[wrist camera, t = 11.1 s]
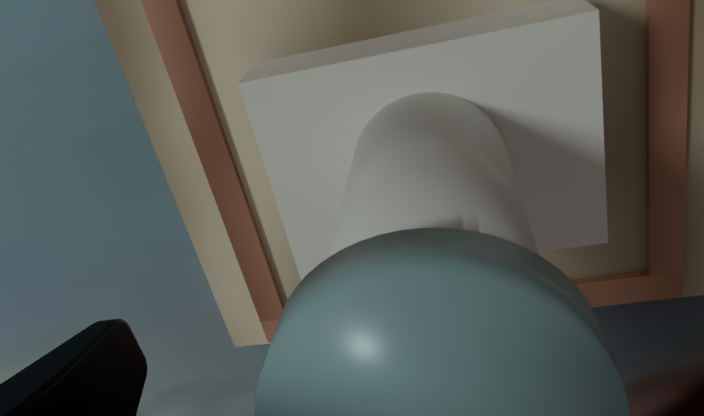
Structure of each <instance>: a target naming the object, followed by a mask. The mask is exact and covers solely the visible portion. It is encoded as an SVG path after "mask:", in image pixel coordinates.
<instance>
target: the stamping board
mask: <svg viewBox="0 0 704 416" xmlns="http://www.w3.org/2000/svg"><path fill="white" fill-rule="evenodd" d="M549 1H554V0H94V2H95V4H96V6H97V9H98V11H99V14H100V16H101V19H102V21H103V24H104V26H105V29H106V31H107V34H108V36H109V38H110V41H111V43H112V46H113V48H114V51H115V53H116V56H117V58H118V61H119V63H120V66H121V68H122V70H123V73H124V75H125V78H126V80H127V83H128V85H129V88H130V90H131V93H132V95H133V98H134V100H135V103H136V105H137V107H138V110H139V112H140V115H141V117H142V120H143V122H144V125H145V127H146V130H147V132H148V135H149V137H150V139H151V142H152V144H153V147H154V149H155V152H156V154H157V157H158V159H159V162H160V164H161V167H162V169H163V171H164V174H165V176H166V179H167V181H168V184H169V186H170V189H171V191H172V194H173V196H174V199H175V201H176V203H177V206H178V208H179V211H180V213H181V216H182V218H183V221H184V223H185V226H186V228H187V231H188V233H189V236H190V238H191V240H192V243H193V245H194V248H195V250H196V253H197V255H198V258H199V260H200V263H201V265H202V268H203V270H204V272H205V275H206V277H207V280H208V282H209V285H210V287H211V290H212V292H213V295H214V297H215V300H216V302H217V304H218V307H219V309H220V312H221V314H222V317H223V319H224V322H225V324H226V327H227V329H228V332H229V334H230V336H231V339H232V341H233V344H234V346H235V347H241V346H250V345H259V344H268V343H271V341H272V338H273V335H274V332H275V329H276V326H277V323H278V320H279V317H280V315H281V312H282V310H283V308H284V305H285V303H286V302H287V300H288V298H289V297H290V295H291V294H292V292H293V290H294V289H295V288H296V287H297V285H298V284H299V283H300V282H301V279H300V276H299V273H298V270H297V266H296V263H295V260H294V257H293V254H292V251H291V248H290V245H289V241H288V238H287V235H286V232H285V229H284V226H283V223H282V220H281V217H280V213H279V210H278V207H277V204H276V201H275V198H274V195H273V192H272V189H271V185H270V182H269V179H268V176H267V173H266V170H265V167H264V164H263V160H262V157H261V154H260V151H259V148H258V145H257V142H256V139H255V136H254V132H253V129H252V126H251V123H250V120H249V117H248V114H247V111H246V108H245V104H244V101H243V98H242V95H241V92H240V89H239V86H238V83H239V82H240V81H241V79H242V78H243V77H244V76H245V75H246V74H247V73H248V72H249V71H250V70H251V68H252V67H253V66H254V65H255V64H256V63H258V62H262V61H267V60H272V59H277V58H282V57H286V56H291V55H296V54H301V53H305V52H310V51H315V50H320V49H325V48H329V47H334V46H339V45H344V44H348V43H353V42H358V41H363V40H368V39H372V38H377V37H382V36H387V35H392V34H396V33H401V32H406V31H411V30H415V29H420V28H425V27H430V26H435V25H439V24H444V23H449V22H454V21H459V20H463V19H468V18H473V17H478V16H482V15H487V14H492V13H497V12H502V11H506V10H511V9H516V8H521V7H525V6H530V5H535V4H540V3H545V2H549ZM586 1H587V2H589V3H590V4H591V5H593V6H594V7H595V8H597V9H598V10H599V22H600V48H601V74H602V99H603V125H604V150H605V176H606V202H607V227H608V243H603V244H596V245H588V246H580V247H573V248H565V249H557V250H550V251H542V252H539V255H540V256H541V257H543V258H544V259H546V260H547V261H549V262H550V263H551V264H553V265H554V266H556V267H557V268H558V269H560V270H561V271H562V272H563V273H564V274H565V275H566V276H567V277H568V278H569V279H570V280H571V281H572V282H573V283H574V284H575V285H576V286H577V287H578V289H579V290H580V291H581V292H582V294H583V295H584V296H585V298H586V299H587V300H588V302H589V304H590V306H591V308H592V307H601V306H610V305H619V304H628V303H637V302H646V301H655V300H664V299H673V298H682V297H691V296H700V295H704V0H586Z"/></svg>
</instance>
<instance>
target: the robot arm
mask: <svg viewBox="0 0 704 416" xmlns="http://www.w3.org/2000/svg"><path fill="white" fill-rule="evenodd" d="M146 375H147V363H146V359H145V356H144V354H143V352H142V350H141V348H140V346H139V344H138V342H137V340H136V338H135V336H134V334H133V332H132V330H131V328H130V326H129V325H128V323H126V322H125V321H124V320H122V319H113V320H105V321H98V322H95V323H94V324H92V325H90V326H89V327H87V328H86V329H84V330H83V331H81V332H80V333H78V334H77V335H75V336H73V337H72V338H70V339H69V340H67V341H66V342H64V343H63V344H61V345H60V346H58V347H57V348H55V349H54V350H52V351H51V352H49V353H47V354H46V355H44V356H43V357H41V358H40V359H38V360H37V361H35V362H34V363H32V364H31V365H29V366H28V367H26V368H25V369H23V370H21V371H20V372H18V373H17V374H15V375H14V376H12V377H11V378H9V379H8V380H6V381H5V382H3V383H2V384H0V416H136V413H137V410H138V406H139V402H140V398H141V395H142V391H143V387H144V383H145V380H146Z"/></svg>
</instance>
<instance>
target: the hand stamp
mask: <svg viewBox="0 0 704 416" xmlns="http://www.w3.org/2000/svg"><path fill="white" fill-rule="evenodd" d="M238 86H239V89H240V92H241V95H242V98H243V101H244V104H245V108H246V111H247V114H248V117H249V120H250V123H251V126H252V129H253V132H254V136H255V139H256V142H257V145H258V148H259V151H260V154H261V157H262V160H263V164H264V167H265V170H266V173H267V176H268V179H269V182H270V185H271V189H272V192H273V195H274V198H275V201H276V204H277V207H278V210H279V213H280V217H281V220H282V223H283V226H284V229H285V232H286V235H287V238H288V241H289V245H290V248H291V251H292V254H293V257H294V260H295V263H296V266H297V270H298V273H299V276H300V279H301V282H300V283H299V284H298V285H297V287H296V288H295V289H294V290H293V292H292V294H291V295H290V297H289V298H288V300H287V302H286V303H285V305H284V308H283V310H282V312H281V315H280V317H279V320H278V323H277V326H276V329H275V332H274V335H273V338H272V341H271V344H270V347H269V350H268V353H267V356H266V359H265V362H264V365H263V368H262V371H261V374H260V377H259V381H258V386H257V390H256V395H255V416H630V414H629V405H628V399H627V396H626V393H625V389H624V386H623V383H622V380H621V378H620V375H619V373H618V370H617V368H616V365H615V363H614V360H613V358H612V355H611V353H610V350H609V348H608V345H607V343H606V340H605V338H604V335H603V333H602V330H601V328H600V325H599V322H598V320H597V317H596V315H595V314H594V312H593V310H592V308H591V306H590V304H589V302H588V300H587V299H586V298H585V296H584V295H583V294H582V292H581V291H580V290H579V289H578V287H577V286H576V285H575V284H574V283H573V282H572V281H571V280H570V279H569V278H568V277H567V276H566V275H565V274H564V273H563V272H562V271H561V270H560V269H558V268H557V267H556V266H554V265H553V264H551V263H550V262H549V261H547V260H546V259H544V258H543V257H541V256H540V255H539V252H542V251H550V250H557V249H565V248H573V247H580V246H588V245H596V244H603V243H608V227H607V202H606V176H605V150H604V125H603V99H602V74H601V48H600V22H599V10H598V9H597V8H595V7H594V6H593V5H591V4H590V3H589V2H587V1H586V0H554V1H549V2H545V3H540V4H535V5H530V6H525V7H521V8H516V9H511V10H506V11H502V12H497V13H492V14H487V15H482V16H478V17H473V18H468V19H463V20H459V21H454V22H449V23H444V24H439V25H435V26H430V27H425V28H420V29H415V30H411V31H406V32H401V33H396V34H392V35H387V36H382V37H377V38H372V39H368V40H363V41H358V42H353V43H348V44H344V45H339V46H334V47H329V48H325V49H320V50H315V51H310V52H305V53H301V54H296V55H291V56H286V57H282V58H277V59H272V60H267V61H262V62H258V63H256V64H255V65H254V66H253V67H252V68H251V70H250V71H249V72H248V73H247V74H246V75H245V76H244V77H243V78H242V79H241V81H240V82H239V83H238Z"/></svg>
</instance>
